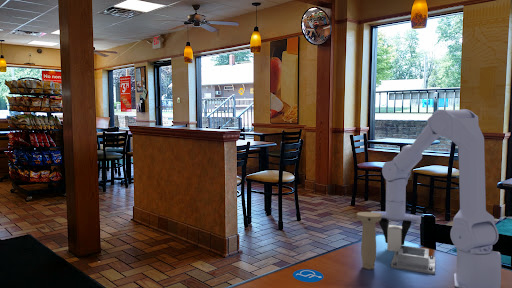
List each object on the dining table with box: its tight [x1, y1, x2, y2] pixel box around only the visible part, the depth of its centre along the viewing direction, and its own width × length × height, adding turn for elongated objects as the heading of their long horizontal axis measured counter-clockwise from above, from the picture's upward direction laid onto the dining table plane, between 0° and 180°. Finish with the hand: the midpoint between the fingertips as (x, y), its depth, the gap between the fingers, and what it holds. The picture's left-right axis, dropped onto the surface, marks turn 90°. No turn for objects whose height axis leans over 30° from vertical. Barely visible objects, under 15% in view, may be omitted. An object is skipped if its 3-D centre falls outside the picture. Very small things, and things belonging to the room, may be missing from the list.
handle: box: [356, 211, 381, 270], centre depth 105 cm, size 5×6×15 cm
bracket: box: [390, 245, 436, 275], centre depth 108 cm, size 11×11×4 cm
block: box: [386, 224, 403, 252], centre depth 119 cm, size 4×4×7 cm
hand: (394, 243), depth 119 cm, fingers closed on block, 4 cm apart
